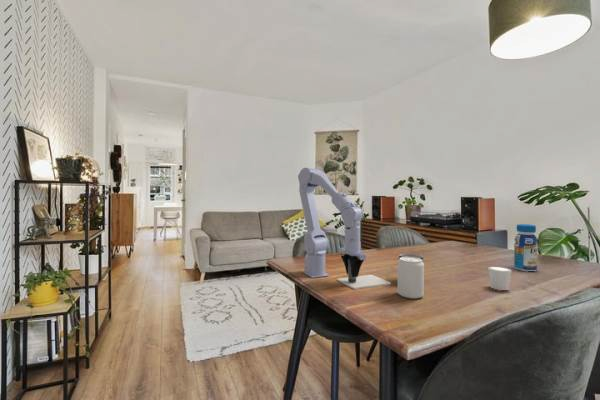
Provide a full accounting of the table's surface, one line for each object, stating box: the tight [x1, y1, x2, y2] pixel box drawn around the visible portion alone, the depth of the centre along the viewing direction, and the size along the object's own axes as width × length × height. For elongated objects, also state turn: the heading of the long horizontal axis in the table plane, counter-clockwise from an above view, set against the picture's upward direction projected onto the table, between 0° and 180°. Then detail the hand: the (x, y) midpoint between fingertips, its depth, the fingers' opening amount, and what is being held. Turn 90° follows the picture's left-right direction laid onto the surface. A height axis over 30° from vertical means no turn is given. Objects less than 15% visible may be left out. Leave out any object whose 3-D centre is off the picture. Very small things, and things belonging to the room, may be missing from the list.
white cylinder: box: [488, 266, 512, 291], centre depth 106 cm, size 7×7×7 cm
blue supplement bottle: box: [513, 223, 539, 272], centre depth 132 cm, size 8×8×20 cm
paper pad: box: [336, 274, 392, 290], centre depth 112 cm, size 12×16×1 cm
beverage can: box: [397, 257, 425, 300], centre depth 98 cm, size 8×8×12 cm
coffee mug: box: [398, 252, 424, 263], centre depth 114 cm, size 12×9×10 cm
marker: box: [347, 260, 356, 282], centre depth 110 cm, size 3×3×8 cm
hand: (352, 275), depth 110 cm, fingers closed on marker, 3 cm apart
